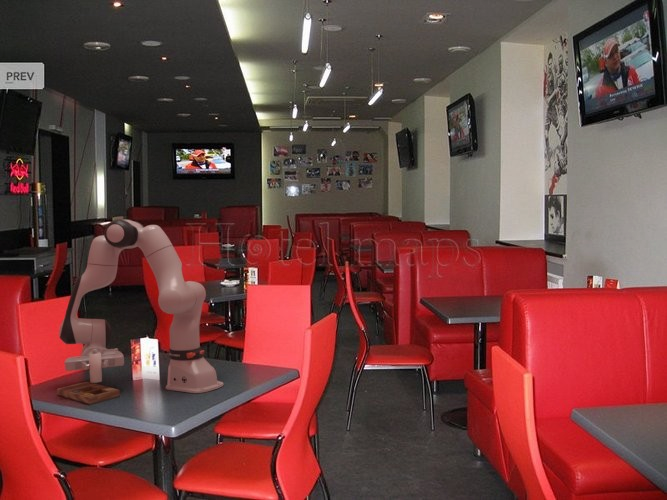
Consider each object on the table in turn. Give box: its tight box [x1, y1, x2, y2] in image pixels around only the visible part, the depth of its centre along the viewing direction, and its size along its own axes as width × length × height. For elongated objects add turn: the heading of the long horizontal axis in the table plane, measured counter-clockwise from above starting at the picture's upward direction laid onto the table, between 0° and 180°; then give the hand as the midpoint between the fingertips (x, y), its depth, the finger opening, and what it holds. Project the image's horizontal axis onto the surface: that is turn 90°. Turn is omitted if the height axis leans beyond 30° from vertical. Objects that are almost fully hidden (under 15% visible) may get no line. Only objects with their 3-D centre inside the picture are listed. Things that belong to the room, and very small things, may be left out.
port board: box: [56, 381, 121, 406], centre depth 242 cm, size 21×12×3 cm, turn 52°
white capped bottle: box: [89, 349, 103, 384], centre depth 237 cm, size 4×4×12 cm
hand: (95, 366), depth 236 cm, fingers closed on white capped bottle, 4 cm apart
